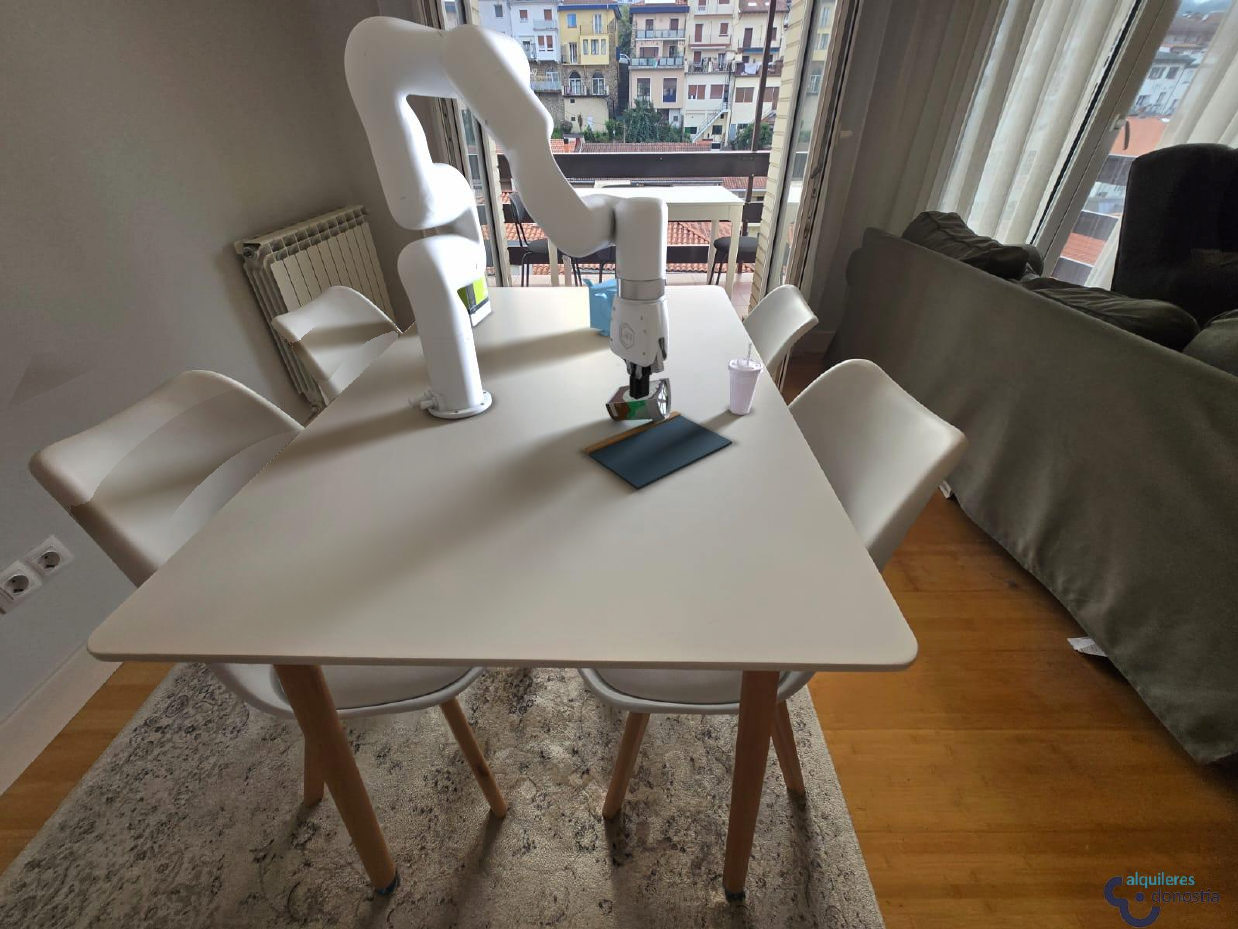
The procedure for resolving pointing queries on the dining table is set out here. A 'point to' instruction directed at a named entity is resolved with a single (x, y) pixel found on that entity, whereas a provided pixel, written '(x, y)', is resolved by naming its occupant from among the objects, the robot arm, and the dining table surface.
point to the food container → (641, 403)
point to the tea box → (475, 300)
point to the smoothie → (743, 382)
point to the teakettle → (601, 304)
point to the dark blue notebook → (656, 449)
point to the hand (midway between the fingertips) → (639, 395)
